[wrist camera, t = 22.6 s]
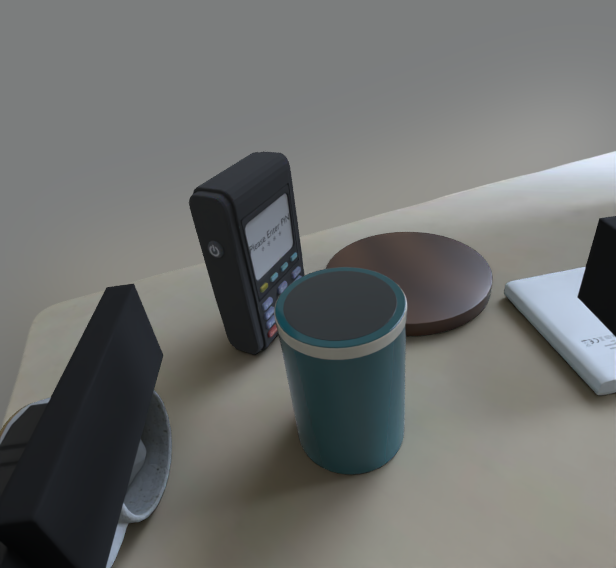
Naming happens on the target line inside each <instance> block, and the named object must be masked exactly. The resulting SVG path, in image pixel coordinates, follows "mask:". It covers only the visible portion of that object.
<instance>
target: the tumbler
mask: <svg viewBox="0 0 616 568" xmlns="http://www.w3.org/2000/svg"><path fill="white" fill-rule="evenodd" d="M274 317H275V322H276V327H277V330H278V333H279V338H280V343H281V348H282V353H283V359H284V364H285V369H286V374H287V379H288V384H289V389H290V394H291V399H292V405H293V410H294V415H295V420H296V425H297V430H298V435H299V440H300V443H301V446H302V448H303V450H304V451H305V453H306V454H307V455H308V456H309V457H310V459H311V460H313V461H314V462H315V463H316V464H318V465H319V466H321V467H323V468H325V469H327V470H329V471H332V472H336V473H340V474H362V473H367V472H370V471H373V470H375V469H377V468H379V467H381V466H383V465H384V464H386V463H387V462H388V461H390V460H391V459H392V458H393V457H394V455H395V454H396V453H397V451H398V450H399V448H400V446H401V444H402V441H403V437H404V422H405V361H406V321H407V300H406V296H405V294H404V292H403V291H402V289H401V288H400V287H399V285H398V284H396V283H395V282H394V281H393V280H391V279H390V278H388V277H387V276H385V275H383V274H380V273H378V272H375V271H371V270H368V269H363V268H355V267H338V268H329V269H324V270H320V271H316V272H313V273H310V274H308V275H305V276H303V277H301V278H299V279H297V280H296V281H294V282H293V283H291V284H290V285H289V286H288V287H287V288H286V289H285V290H284V291H283V292H282V293H281V294H280V296H279V297H278V299H277V301H276V304H275V308H274Z"/></svg>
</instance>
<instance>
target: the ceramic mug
mask: <svg viewBox="0 0 616 568" xmlns="http://www.w3.org/2000/svg"><path fill="white" fill-rule="evenodd" d="M49 400H50V398H47V399H44V400H41V401H38V402H35V403H32V404H29V405H27V406H25V407H23V408H21V409H20V410H19V411H17V412H16V413H15V414H14V415H13V416H12V417H11V418H9V420H8V421H7V422H6V423H5V425H4V426H3V428H2V429H1V431H0V444H1V442H2V440H3V439H4V437H5V435H6V433H7V432H8V430H9V428H10V426H11V425H12V424H13V423H14V422H15V421H16V420H17V419H18V418H19V417H20V416H21V415H22V414H23V413H24V412H25V411H26V409H27V408H28V407H29V406H30V405H36V404H43V403H48V402H49ZM171 449H172V441H171V428H170V424H169V418H168V415H167V412H166V409H165V406H164V403H163V401H162V400H161V398H160V396H159V395H158V394H157V393H156V391H155V390H154V391H153V395H152V399H151V402H150V406H149V410H148V413H147V417H146V421H145V425H144V428H143V432H142V436H141V439H140V443H139V447H138V451H137V454H136V458H135V462H134V465H133V469H132V473H131V477H130V480H129V484H128V488H127V492H126V495H125V499H124V503H123V506H122V510H121V514H120V518H119V521H118V525H117V529H116V532H115V536H114V540H113V544H112V547H111V551H110V555H109V558H108V562H107V566H106V568H111V566H112V564H113V563H114V561H115V559H116V556H117V554H118V551H119V549H120V546H121V544H122V541H123V538H124V535H125V531H126V528H127V526H128V524H129V523H133V522H140V521H142V520H143V519H146V518H147V517H148V516H149V515H150V514H151V513H152V512H153V511H154V510H155V508H156V507H157V505H158V503H159V501H160V499H161V497H162V495H163V492H164V489H165V487H166V483H167V479H168V475H169V471H170V464H171Z"/></svg>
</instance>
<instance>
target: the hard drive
mask: <svg viewBox="0 0 616 568" xmlns="http://www.w3.org/2000/svg"><path fill="white" fill-rule="evenodd" d="M585 268H586V267H581V268H576V269H571V270H566V271H561V272H556V273H550V274H546V275H540V276H535V277H530V278H525V279H519V280H514V281H511V282H508V283H506V285H505V290H504V295H505V296H506V297H507V298H508V299H509V300H510V301H511V302H512V303H513V304H514V305H515V306H516V308H517V309H518V310H519V311H520V312H521V313H522V314H523V315H524V316H525V317H526V318H527V319H528V321H529V322H530V323H531V324H532V325H533V326H534V327H535V328H536V329H537V330H538V331H539V333H540V334H541V335H542V336H543V337H544V338H545V339H546V340H547V341H548V342H549V343H550V344H551V346H552V347H553V348H554V349H555V350H556V351H557V352H558V353H559V354H560V355H561V356H562V357H563V358H564V360H565V361H566V362H567V363H568V364H569V365H570V366H571V367H572V368H573V369H574V370H575V371H576V372H577V374H578V375H579V376H580V377H581V378H582V379H583V380H584V381H585V382H586V383H587V384H588V386H589V387H590V388H591V389H592V390H593V391H594V392H595V393H596V394H597V395H606V394H611V393H615V392H616V337H615V336H614V335H613V334H612V333H611V332H610V331H609V330H608V328H607V327H606V326H605V325H604V324H603V323H602V322H601V321H600V320H599V319H598V318H597V317H596V316H595V315H594V314H593V313H592V312H591V311H590V310H589V309H588V308H587V307H586V306H585V305H584V304H583V303H582V302H581V301H580V300H579V299H578V298H577V296H578V293H579V289H580V286H581V282H582V279H583V275H584V272H585Z"/></svg>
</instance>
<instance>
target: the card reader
mask: <svg viewBox="0 0 616 568" xmlns="http://www.w3.org/2000/svg"><path fill="white" fill-rule="evenodd" d="M189 205H190V210H191V213H192V217H193V221H194V224H195V228H196V232H197V235H198V239H199V242H200V245H201V249H202V253H203V256H204V260H205V263H206V267H207V270H208V274H209V277H210V281H211V284H212V288H213V291H214V295H215V298H216V301H217V305H218V308H219V311H220V314H221V318H222V321H223V324H224V327H225V330H226V334H227V337H228V339H229V342H230V343H231V344H232V346H234V347H235V348H236V349H238V350H241V351H244V352H247V353H251V354H256V353H258V352H260V350H265V349H266V348H267V347H268V345H269V344H270V343H271V342H272V341H273V339H274V338H275V337H276V336H277V334H278V330H277V327H276V322H275V317H274V308H275V304H276V301H277V299H278V297H279V296H280V294H281V293H282V292H283V291H284V290H285V289H286V288H287V287H288V286H289V285H290V284H291V283H293V282H294V281H296V280H297V279H299V278H301V277H303V276H304V269H303V260H302V252H301V244H300V237H299V230H298V222H297V215H296V208H295V200H294V193H293V185H292V178H291V171H290V165H289V162H288V160H287V158H286V157H285V156H284V155H283V154H281V153H274V152H260V153H258V152H255V153H252V154H250V155H249V156H247V157H245V158H244V159H242V160H240V161H239V162H237V163H236V164H234V165H232V166H231V167H229V168H227V169H226V170H224V171H223V172H221V173H219V174H218V175H216V176H215V177H213V178H211V179H210V180H208V181H206V182H205V183H203V184H202V185H200V186H198V187H197V188H196V189H195V190H194V193H193V195H192V196H191V197H190V200H189Z"/></svg>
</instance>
